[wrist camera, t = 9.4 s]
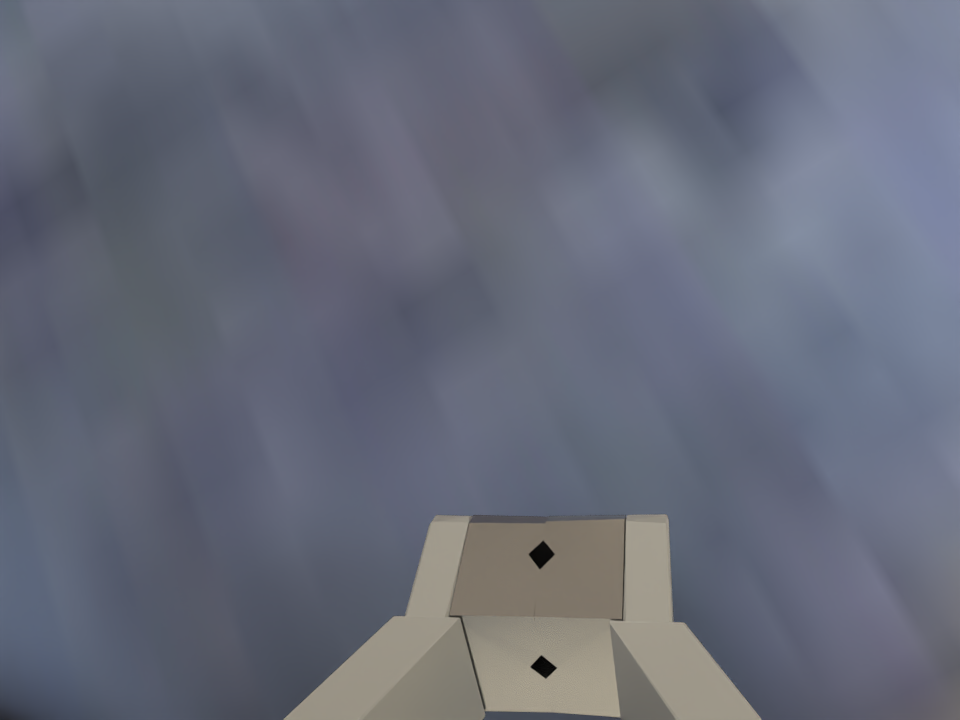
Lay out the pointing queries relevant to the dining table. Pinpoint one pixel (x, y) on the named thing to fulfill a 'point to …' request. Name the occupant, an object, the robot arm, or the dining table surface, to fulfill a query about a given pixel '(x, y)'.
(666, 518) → the robot arm
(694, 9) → the dining table surface
